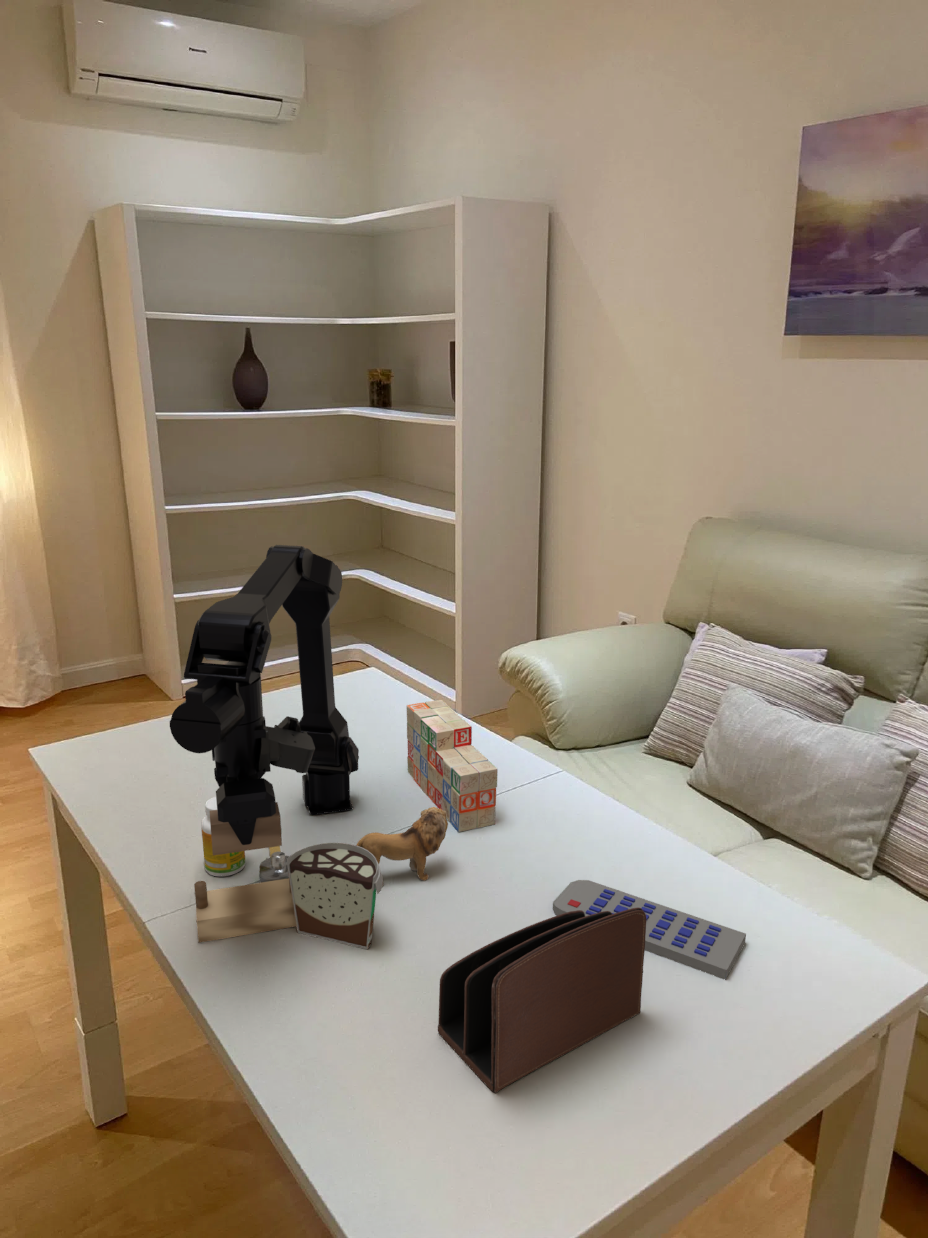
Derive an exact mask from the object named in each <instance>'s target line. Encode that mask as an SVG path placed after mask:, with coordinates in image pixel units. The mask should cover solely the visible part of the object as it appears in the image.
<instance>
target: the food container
mask: <svg viewBox="0 0 928 1238" xmlns="http://www.w3.org/2000/svg"><path fill="white" fill-rule="evenodd" d="M356 845H357V844H356ZM356 845H355V844H351V843H346V842H345V843H344V842H325V843H323V842H322V843H318V844H313V845H308V846H306V847H303V848H301V849H299V850H297V851H295V852H294V853H292V854H291V855H290V856H289V857H288V858H287V862H286V863H285V867H284V873H286V872H287V871H288V874H289V880H290V887H291V893H292V900H293V906H294V913H295V919H296V931H297V934H301V935H305V936H309V937H314V938H319V939H321V940H326V941H331V942H333V943H339V944H343V945H347V946H352V947H356V948H360V949H363V950H369V949H370V946H371V945H372V942H373V941H372V940H373V930H374V929H373V928H374V920H375V910H376V898H377V895H378V894H380V892H381V891H382V888H383V886H382V885H383V882H384V879H383V874H382V871H381V865H380V863H379V864H378V862H377V860H376V858H375V857H374V856H373V854H372V853H370V852H369V851H368V850H366V849H364V848H362V847H359V846H356Z"/></svg>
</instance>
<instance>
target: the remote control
mask: <svg viewBox="0 0 928 1238" xmlns="http://www.w3.org/2000/svg"><path fill="white" fill-rule="evenodd" d="M638 907H639V908H642V909H643V911H644V912H645V914H646V936H645V952H648V953H651V954H654V955H657V956H659V957H662V958H665V959H668V960H670V961H673V962H675V963H676V962H677V963H679V964H681V965H684V966H686V967H689V968H692V969H695V970H697V971H700V970H701V971H700V972H703V973H705V972H706V974H709V975H712V976H713V975H714V977H716V978H720V979H722V980H724V979H725V980H727V978H728V976H729V975H730V973H731V971H730V970H732V969H731V968H733V967H732V966H734V965H735V963H736V961H737V959H738V957H739V956H740V954H739V953H741V952H742V950H743V948H744V946H745V944H746V936H747V933H745V932H743V931H740V930H737V929H734V928H731V927H728V926H724V925H722V924H720V923H716V922H713V921H709V920H707V919H704V918H701V917H698V916H696V915H692V914H689V913H686V912H684V911H681V910H677V909H674V908H672V907H668V906H665V905H663V904H660V903H658V902H654V901H652V900H648V899H645V898H642V897H640V896H639V897H638V896H636V895H633V894H630V893H627V892H625V891H621V890H619V889H616V888H613V887H610V886H606V885H603V884H601V883H598V882H595V881H592V880H589V879H578V880H575V881H571V882H569V884H568V885H567V886H566V887H565V888H564V889H563V890H562V891H561V892H560V893H559V895H558V896H557V897H556V898H555V899H554V900H553V901H552V911H553V913H554V915H555V916H557V915H560V914H564V913H567V912H570V911H577V910H582V911H583V912H584V913H585V916H589V915H592V914H595V913H599V912H603V911H610V912H611V913H612V914H614V913H618V912H621V911H624V910H628V909H632V908H638ZM744 943H745V944H744ZM743 945H744V946H743ZM742 947H743V948H742ZM741 949H742V950H741ZM740 951H741V952H740ZM733 964H734V965H733ZM729 972H730V973H729ZM728 974H729V975H728Z"/></svg>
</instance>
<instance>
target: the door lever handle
mask: <svg viewBox="0 0 928 1238" xmlns="http://www.w3.org/2000/svg"><path fill="white" fill-rule="evenodd" d="M268 853H269V857H268V858H266V859H265V860H263V861H262V862H261V863H260V865H259V869H258V871H259V883H262V882H268V881H275V880H281V879H288V878H289V874H288V871H287V872H286V873H284V867H285V863H286V862H287V858H288V857H290V856H289V855H286V853H285V852H284V851H281V846H276V847H269V848H268Z"/></svg>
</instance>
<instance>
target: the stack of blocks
mask: <svg viewBox="0 0 928 1238" xmlns="http://www.w3.org/2000/svg"><path fill="white" fill-rule="evenodd" d="M472 728H473V727H472V726H471V724H470V723H468V722H467V721H466V719H463V717H461V716H460V715H459V714H458V713H456V711H455V710H453V709H452V708H451V707H450V706H449V705H448V704H447V703H446V702H445V701H444V700H442V699H437V700H430V701H424V702H416V703H412V704H407V705H406V739H407V757H406V758H407V759H406V760H407V772H408V774H409V775H410V776H411V777H412V779H413V781H414V782H415V783H416V784H417V786H418V787H419V788H420V789H421V790H422V792H423V793H424V794H425V795H426V796H427V797H428V798H429V799H430V800H431V802H432V803H433V804H435V807H436V808H438V809H441V810H442V811H446V820H447V822H448V823H450V825H452V827H453V828H454V829H455V830H456V831H457V832H459V833H461V832H466V831H470V830H474V829H479V828H483V827H488V826H492V825H493V826H494V825H495V824H496V806H497V787H498V767H497V766H495V765H494V764H493V763H492V762H491V761H489V759H488V758H487V757H486V756H485V755H483V753H482V752H480V751H479V749H477V748H476V747H475V746H474V745H472V741H473V740H472V739H473V738H472V736H473V731H472V730H473V729H472Z"/></svg>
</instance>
